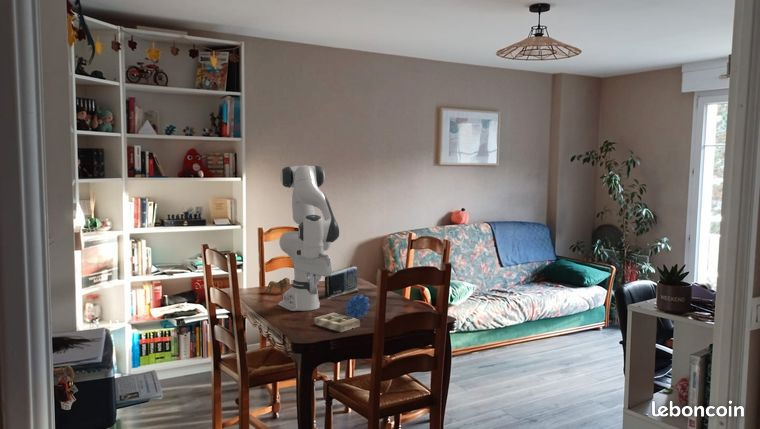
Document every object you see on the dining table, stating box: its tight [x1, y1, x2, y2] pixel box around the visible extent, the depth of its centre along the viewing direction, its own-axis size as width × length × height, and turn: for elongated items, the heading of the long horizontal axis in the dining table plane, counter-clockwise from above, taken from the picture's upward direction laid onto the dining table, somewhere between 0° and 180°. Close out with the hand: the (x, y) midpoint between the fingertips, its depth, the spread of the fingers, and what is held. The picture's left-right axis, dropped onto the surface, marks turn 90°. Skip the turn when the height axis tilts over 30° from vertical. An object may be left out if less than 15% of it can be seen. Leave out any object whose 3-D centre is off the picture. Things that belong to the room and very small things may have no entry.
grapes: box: [345, 293, 371, 320], centre depth 264 cm, size 12×7×12 cm, turn 97°
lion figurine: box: [264, 277, 291, 295], centre depth 312 cm, size 15×5×9 cm, turn 82°
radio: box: [324, 265, 360, 300], centre depth 311 cm, size 23×9×15 cm, turn 130°
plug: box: [310, 273, 318, 295], centre depth 247 cm, size 3×3×10 cm
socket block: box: [314, 312, 361, 333], centre depth 254 cm, size 17×12×3 cm
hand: (313, 283), depth 247 cm, fingers closed on plug, 3 cm apart
